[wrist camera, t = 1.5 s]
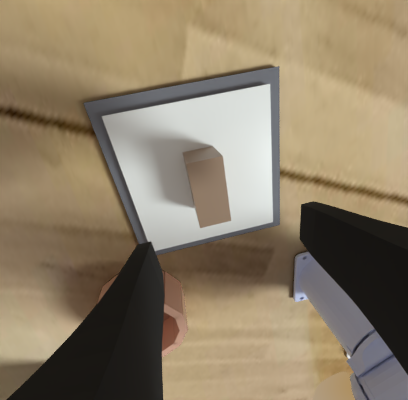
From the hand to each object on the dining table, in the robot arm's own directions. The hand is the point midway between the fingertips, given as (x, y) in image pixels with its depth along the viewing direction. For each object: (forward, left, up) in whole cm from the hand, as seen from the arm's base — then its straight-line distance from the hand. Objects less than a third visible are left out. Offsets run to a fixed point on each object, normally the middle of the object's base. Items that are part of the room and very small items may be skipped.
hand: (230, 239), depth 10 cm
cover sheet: (0, 0, -9) cm, 9 cm away
